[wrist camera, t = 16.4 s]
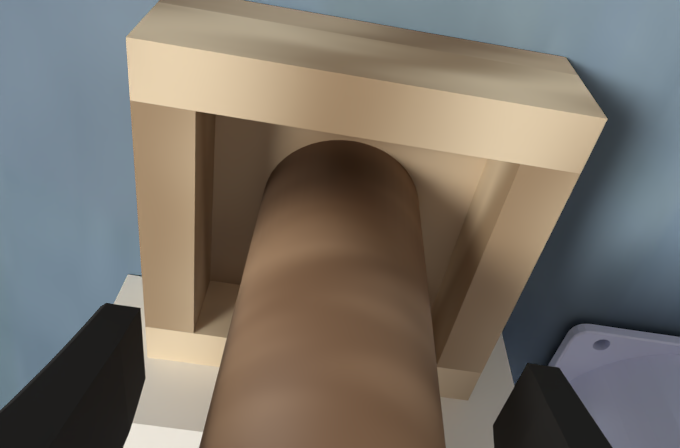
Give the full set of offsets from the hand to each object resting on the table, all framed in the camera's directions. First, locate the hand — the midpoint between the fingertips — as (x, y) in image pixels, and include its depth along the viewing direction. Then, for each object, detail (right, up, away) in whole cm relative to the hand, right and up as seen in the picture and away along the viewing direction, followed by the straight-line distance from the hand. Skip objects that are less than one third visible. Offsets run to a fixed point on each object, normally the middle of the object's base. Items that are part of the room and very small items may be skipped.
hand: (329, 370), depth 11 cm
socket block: (0, +4, +5) cm, 6 cm away
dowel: (0, +3, +4) cm, 5 cm away
